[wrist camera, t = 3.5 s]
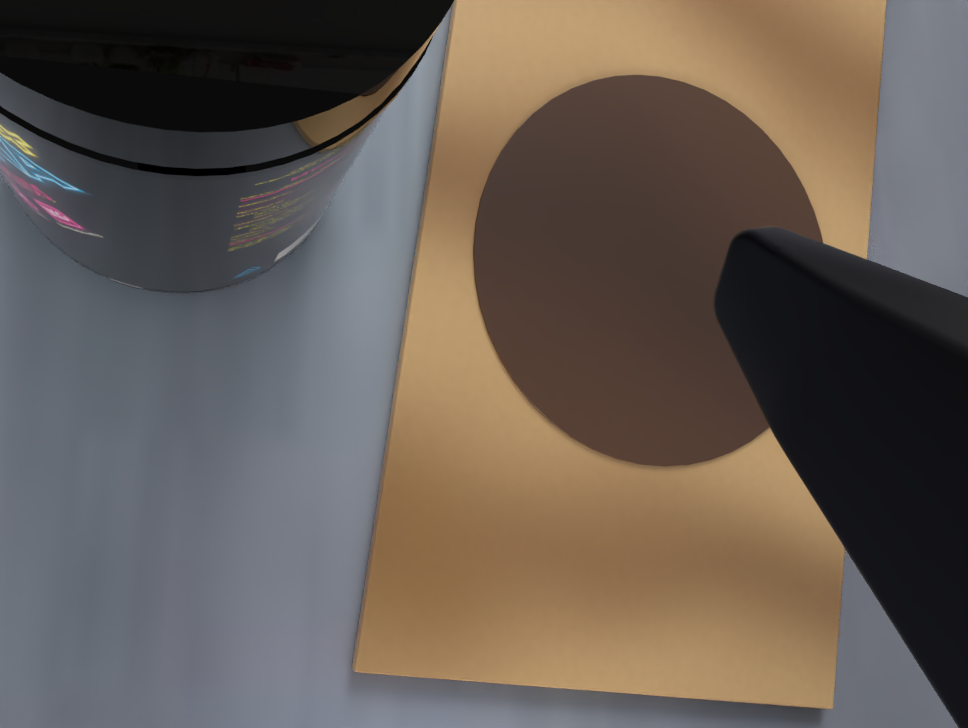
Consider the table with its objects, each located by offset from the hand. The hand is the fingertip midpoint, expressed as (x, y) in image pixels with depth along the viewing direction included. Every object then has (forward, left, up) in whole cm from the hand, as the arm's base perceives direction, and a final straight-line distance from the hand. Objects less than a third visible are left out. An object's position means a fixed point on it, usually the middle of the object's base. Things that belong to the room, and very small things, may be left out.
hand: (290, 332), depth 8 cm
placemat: (-8, -8, -12) cm, 16 cm away
